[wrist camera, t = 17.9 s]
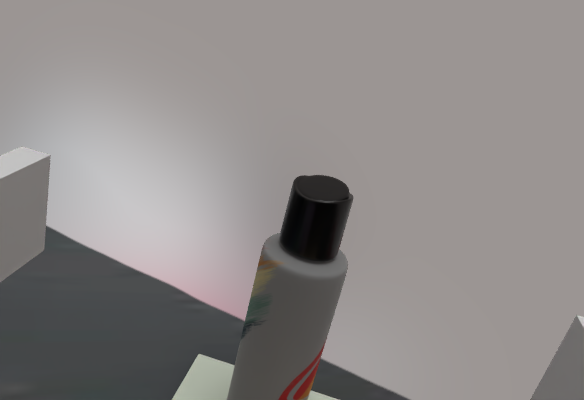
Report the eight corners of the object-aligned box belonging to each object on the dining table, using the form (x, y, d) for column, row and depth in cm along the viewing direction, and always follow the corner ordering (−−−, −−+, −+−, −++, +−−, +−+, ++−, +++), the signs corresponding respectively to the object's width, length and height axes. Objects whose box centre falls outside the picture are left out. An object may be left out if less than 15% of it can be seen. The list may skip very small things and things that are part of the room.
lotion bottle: (311, 431, 41) (387, 194, 34) (261, 472, 37) (335, 210, 29) (258, 387, 44) (316, 160, 37) (205, 420, 40) (260, 171, 32)
